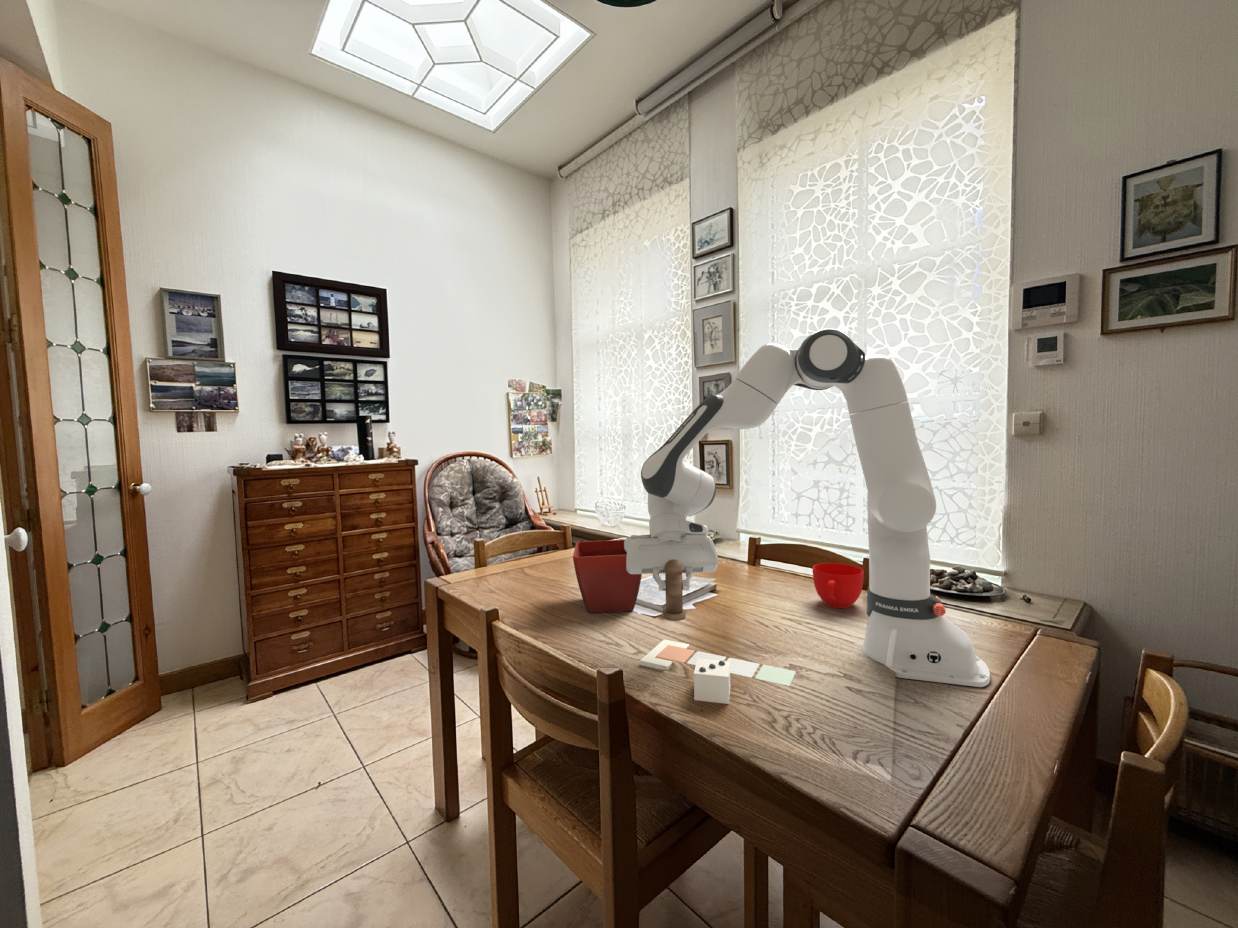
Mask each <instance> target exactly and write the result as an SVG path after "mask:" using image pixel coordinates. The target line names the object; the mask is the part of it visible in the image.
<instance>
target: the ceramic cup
mask: <svg viewBox="0 0 1238 928" xmlns="http://www.w3.org/2000/svg"><path fill="white" fill-rule="evenodd" d="M864 575H865V573H864V570H863V569H862V568H861V567H859V566H856V565H852V564H847V563H836V562H823V563H817V564H815V565H813V566H812V578H813V579H812V580H813V585H814V588H815V591H816V593H817V595H818V596H819V598H820V599H821V600H822V602H824V604H825V605H826V606H828V607H831V608H835V609H848V608H851V607H852V606H853V605H854V603H856V601H857V600H858V599H859V598H860V596H861V593H862V591H863V587H864V585H863V584H864Z"/></svg>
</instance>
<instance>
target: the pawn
mask: <svg viewBox="0 0 1238 928" xmlns="http://www.w3.org/2000/svg"><path fill="white" fill-rule="evenodd" d="M664 571H665V574H664V576H665V577H664V578H665V579H664V580H665V581H666V591H665V608H664V609H662V610H663V611H662V617H663V619H664V620H667V621H670V622H679V621H680V622H681V621H683V620H685V619H686V618H687V617H686V615H687V613H686V609H684V606H683V605H684V603H683V602H684V600H683V596H684V595H683V593H684V592H683V590H682V580H683V574H684V573H683V566H682V564H681V563H680V562H679V561H678V560H675V559H672V560H669V561H668V562H667V563H666V564H665V567H664Z"/></svg>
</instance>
